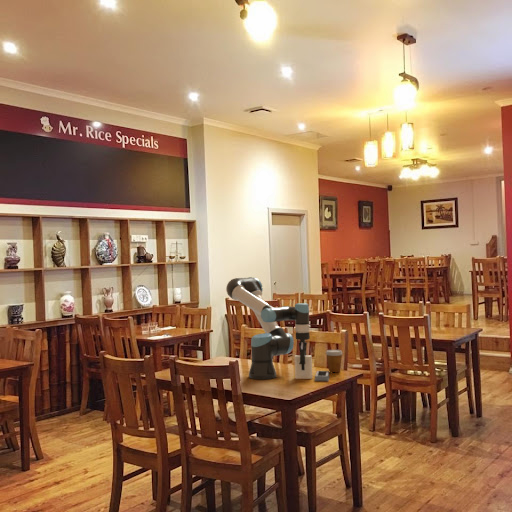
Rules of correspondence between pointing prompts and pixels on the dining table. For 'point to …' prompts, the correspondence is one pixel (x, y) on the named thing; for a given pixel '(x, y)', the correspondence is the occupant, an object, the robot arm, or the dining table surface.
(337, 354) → the disposable coffee cup
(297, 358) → the door panel
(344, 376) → the dining table surface
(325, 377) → the track
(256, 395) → the dining table surface
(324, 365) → the dining table surface
